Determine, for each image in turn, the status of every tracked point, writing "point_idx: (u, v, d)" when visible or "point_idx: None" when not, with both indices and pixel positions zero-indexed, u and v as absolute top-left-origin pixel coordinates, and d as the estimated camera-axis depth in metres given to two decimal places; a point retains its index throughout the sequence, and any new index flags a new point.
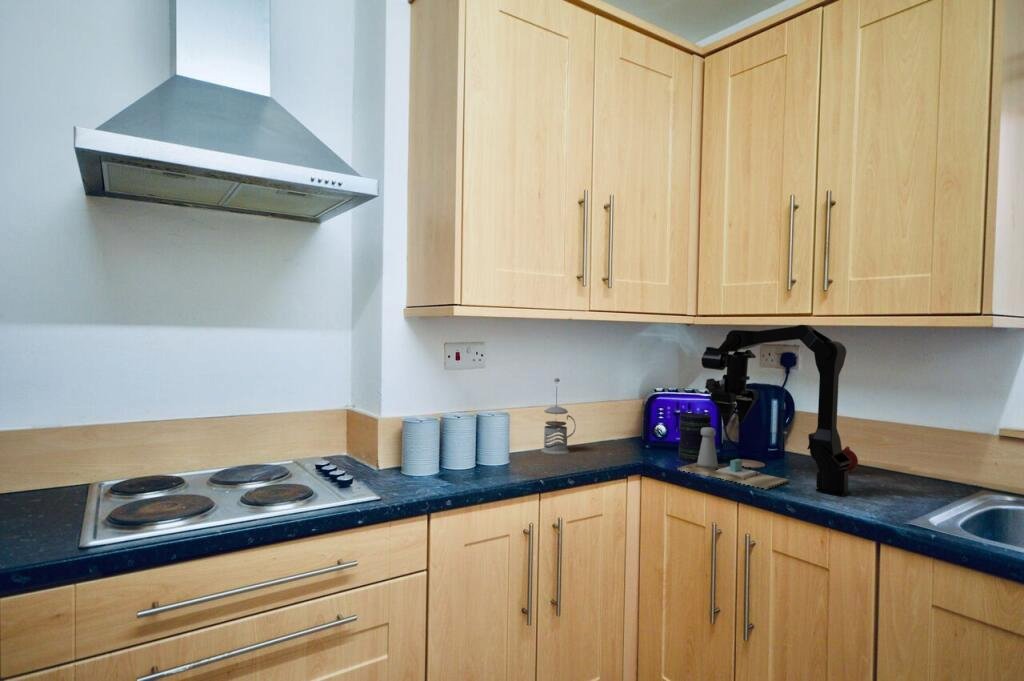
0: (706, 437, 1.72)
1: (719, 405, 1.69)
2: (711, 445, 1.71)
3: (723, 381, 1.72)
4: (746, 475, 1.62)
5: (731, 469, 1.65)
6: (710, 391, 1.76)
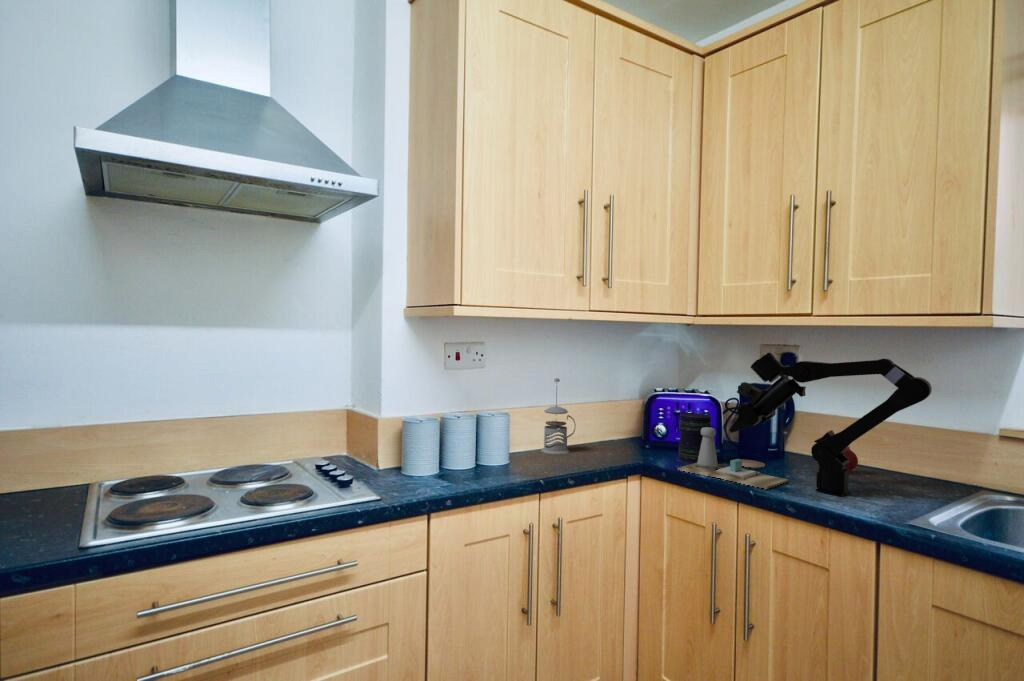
0: (706, 437, 1.72)
1: (740, 415, 1.61)
2: (711, 445, 1.71)
3: (759, 395, 1.61)
4: (746, 475, 1.62)
5: (731, 469, 1.65)
6: (739, 392, 1.65)
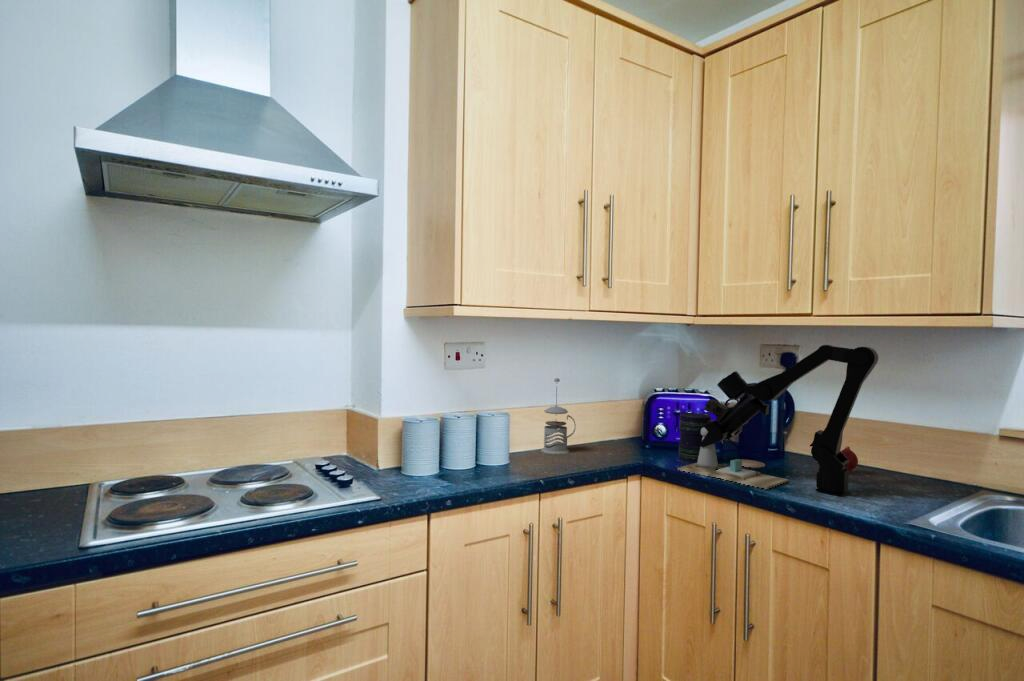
0: None
1: None
2: (711, 445, 1.71)
3: (725, 412, 1.67)
4: (746, 475, 1.62)
5: (731, 469, 1.65)
6: (706, 409, 1.71)
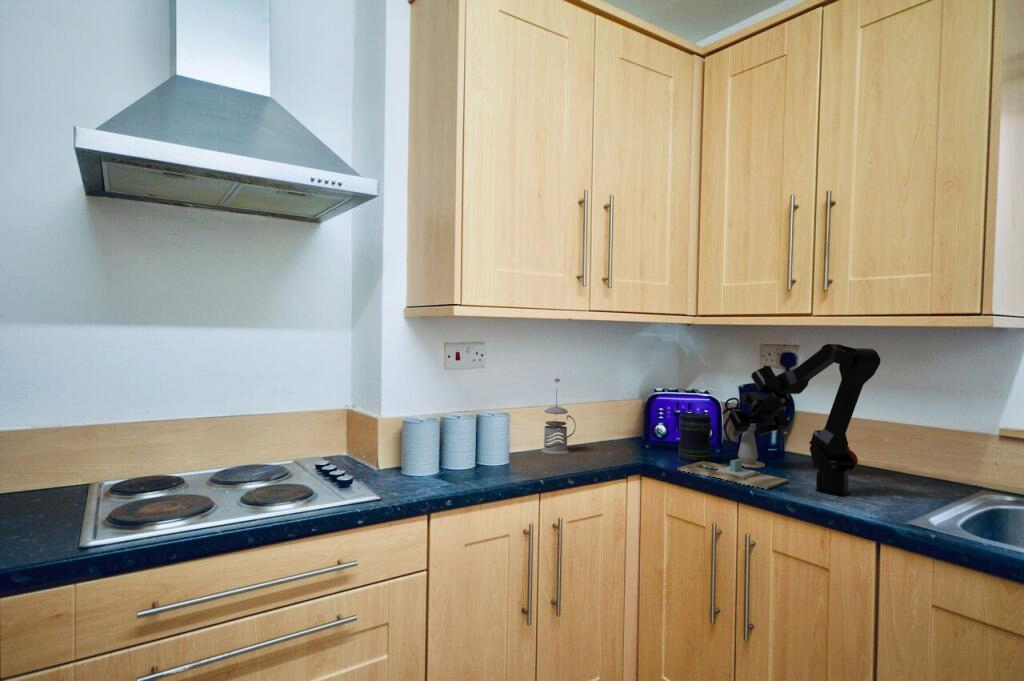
0: None
1: None
2: (748, 438, 1.82)
3: (754, 404, 1.77)
4: (746, 475, 1.62)
5: (731, 469, 1.65)
6: None
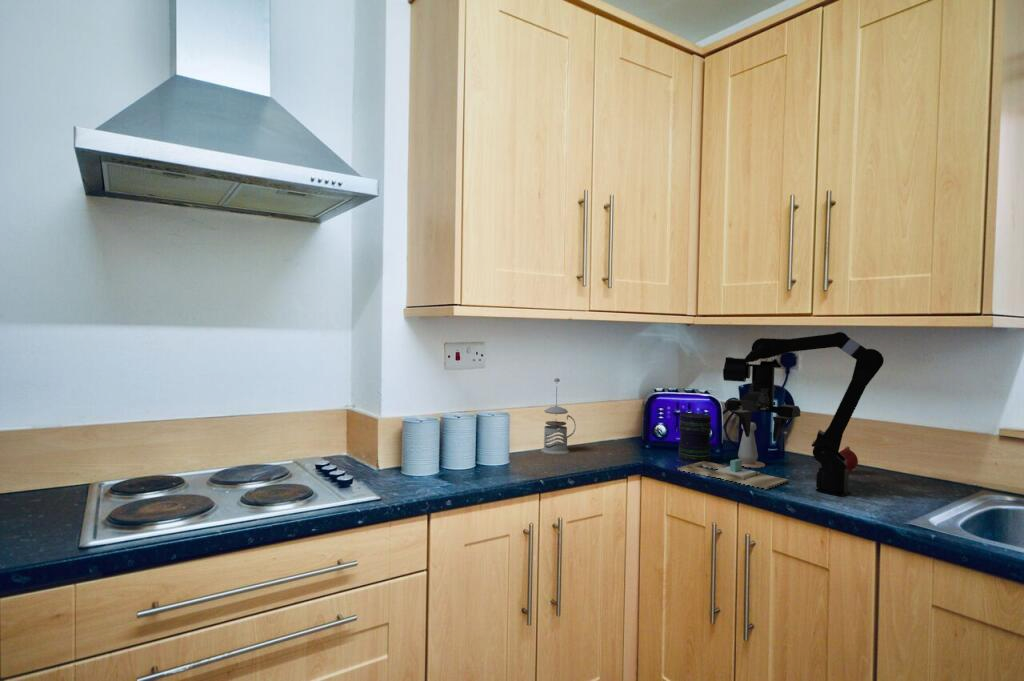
0: None
1: None
2: (748, 438, 1.82)
3: (767, 395, 1.57)
4: (746, 475, 1.62)
5: (731, 469, 1.65)
6: (759, 409, 1.55)
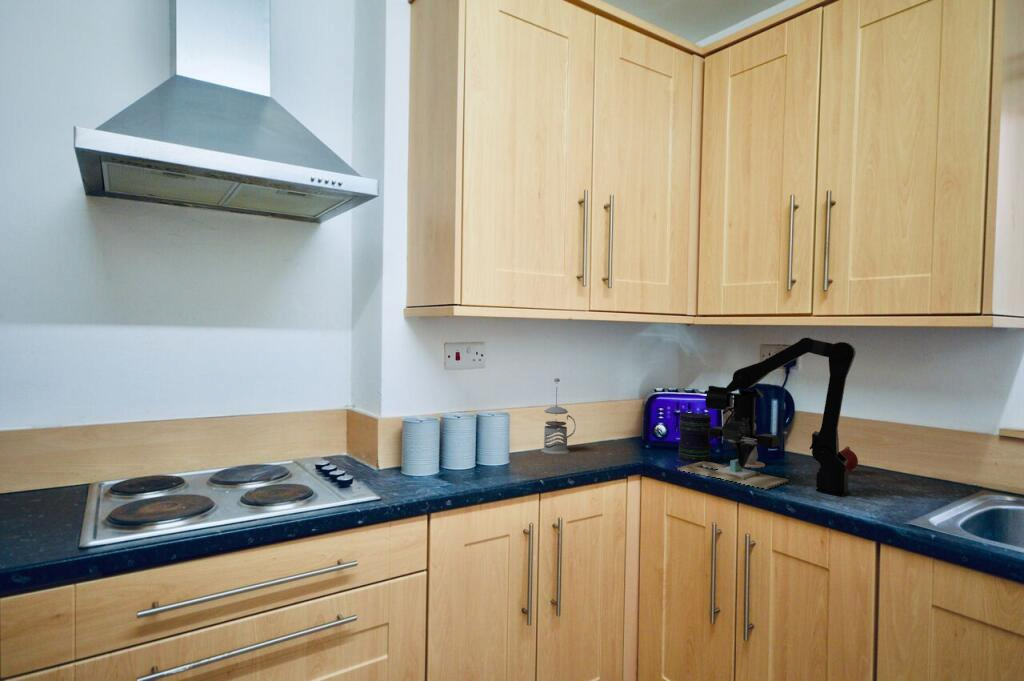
0: None
1: (747, 448, 1.62)
2: None
3: (748, 424, 1.61)
4: (746, 475, 1.62)
5: (731, 469, 1.65)
6: (739, 438, 1.59)
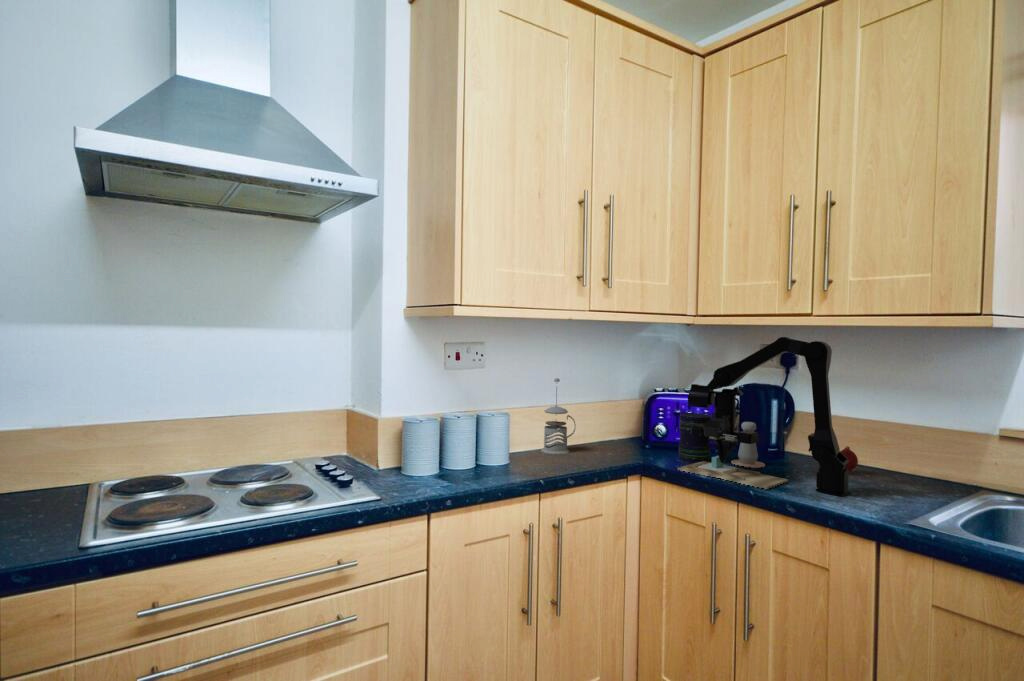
0: None
1: None
2: None
3: (728, 422, 1.65)
4: (727, 471, 1.67)
5: (712, 465, 1.70)
6: (720, 435, 1.63)
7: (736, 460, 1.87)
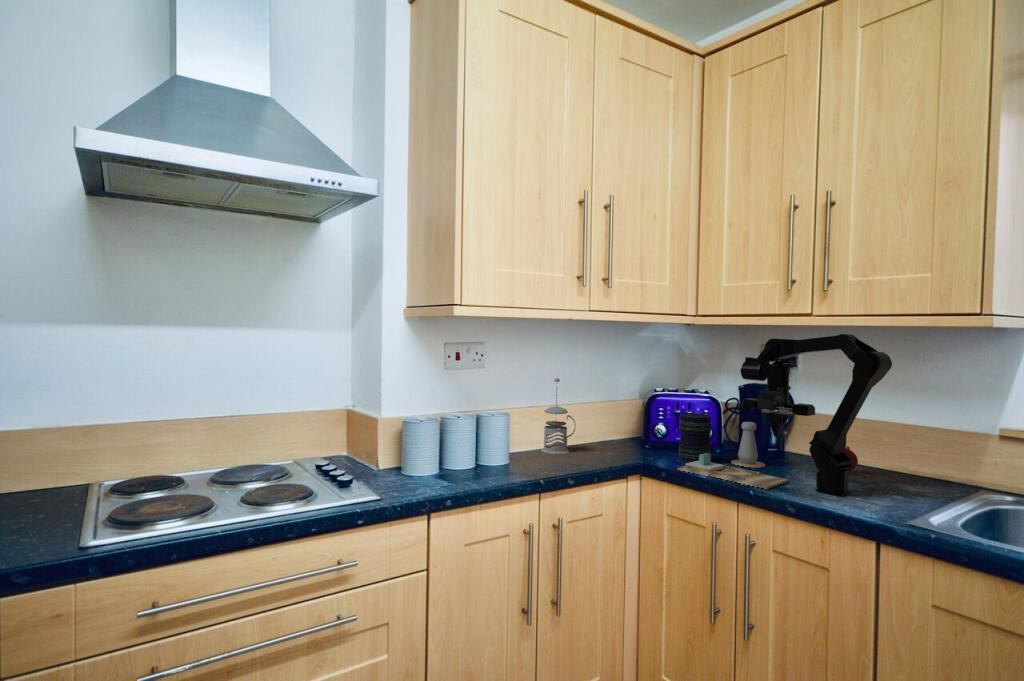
0: (745, 431, 1.83)
1: (782, 417, 1.63)
2: (748, 438, 1.82)
3: (783, 394, 1.61)
4: (713, 468, 1.70)
5: (700, 463, 1.73)
6: (775, 408, 1.59)
7: (736, 460, 1.87)
